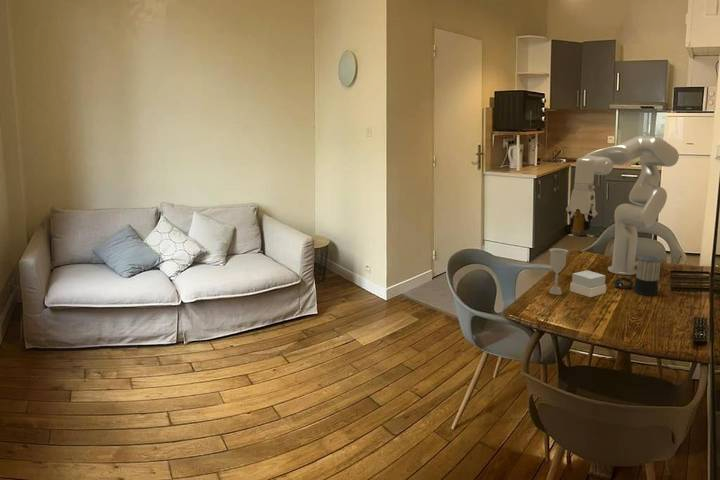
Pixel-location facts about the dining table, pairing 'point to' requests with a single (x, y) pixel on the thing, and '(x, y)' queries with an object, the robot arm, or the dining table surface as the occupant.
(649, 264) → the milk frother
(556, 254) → the chalice
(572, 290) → the tower base
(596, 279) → the tower top
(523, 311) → the dining table surface
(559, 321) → the dining table surface
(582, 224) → the condiment
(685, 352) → the dining table surface
